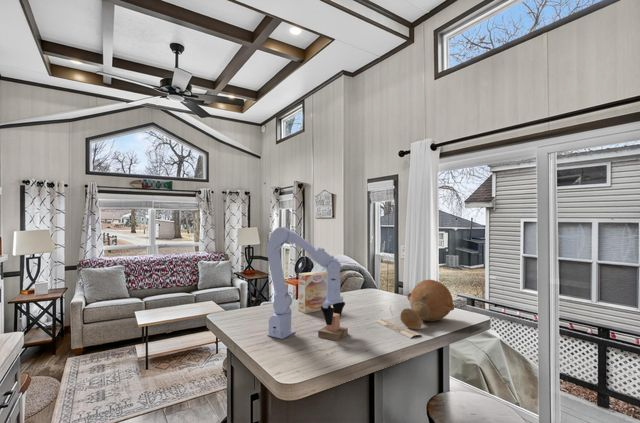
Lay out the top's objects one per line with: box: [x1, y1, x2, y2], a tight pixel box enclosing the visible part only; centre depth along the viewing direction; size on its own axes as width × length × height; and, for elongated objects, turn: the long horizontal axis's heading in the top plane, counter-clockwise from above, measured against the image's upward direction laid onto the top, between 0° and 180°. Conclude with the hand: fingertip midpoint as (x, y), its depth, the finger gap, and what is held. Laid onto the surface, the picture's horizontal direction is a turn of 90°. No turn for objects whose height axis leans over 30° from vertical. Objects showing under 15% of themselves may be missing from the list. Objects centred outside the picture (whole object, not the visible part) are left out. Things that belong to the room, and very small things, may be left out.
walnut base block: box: [317, 325, 349, 342], centre depth 134 cm, size 9×9×3 cm
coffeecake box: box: [297, 270, 327, 314], centre depth 173 cm, size 15×7×20 cm, turn 126°
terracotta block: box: [326, 313, 341, 331], centre depth 134 cm, size 4×4×6 cm
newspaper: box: [375, 318, 423, 339], centre depth 142 cm, size 24×7×2 cm, turn 26°
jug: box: [399, 279, 455, 330], centre depth 152 cm, size 20×19×30 cm
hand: (333, 322), depth 134 cm, fingers open, 7 cm apart
